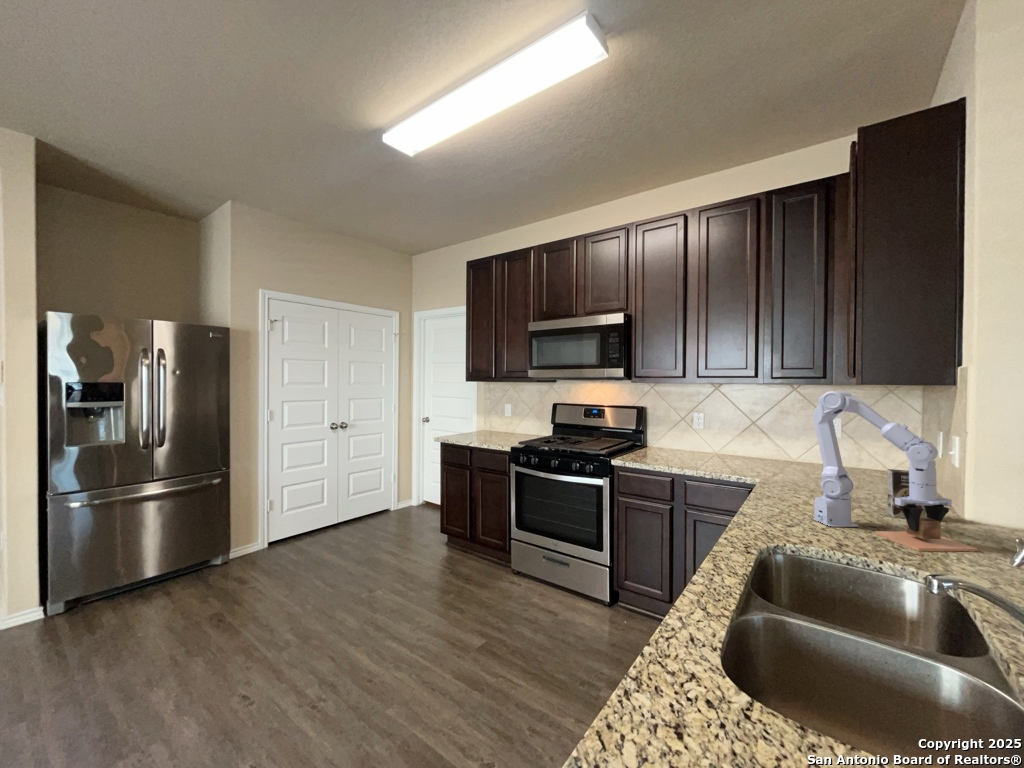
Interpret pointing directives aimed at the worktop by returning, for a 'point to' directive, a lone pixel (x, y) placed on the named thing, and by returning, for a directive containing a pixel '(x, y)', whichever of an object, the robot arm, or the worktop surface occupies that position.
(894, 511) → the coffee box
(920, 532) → the walnut cube
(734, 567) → the worktop surface
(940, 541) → the terracotta tile
